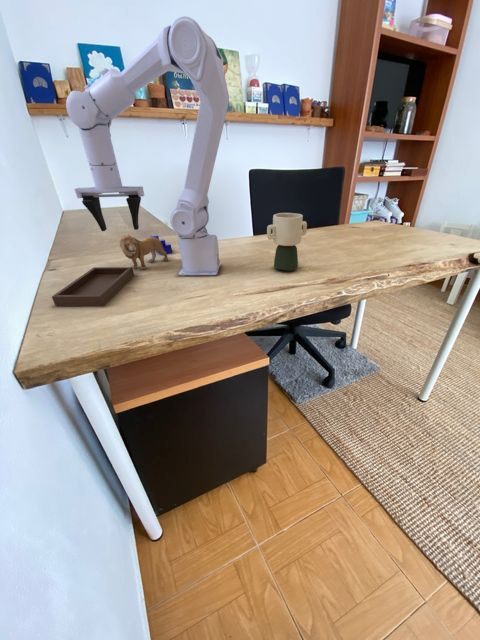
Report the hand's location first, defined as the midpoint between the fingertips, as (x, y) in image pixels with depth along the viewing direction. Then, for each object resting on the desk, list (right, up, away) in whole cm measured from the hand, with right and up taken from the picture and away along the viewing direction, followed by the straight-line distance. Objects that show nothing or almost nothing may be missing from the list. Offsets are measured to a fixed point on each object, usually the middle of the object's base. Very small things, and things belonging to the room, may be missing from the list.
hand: (120, 229), depth 73 cm
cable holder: (+4, +1, +18) cm, 19 cm away
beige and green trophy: (+41, -9, +4) cm, 43 cm away
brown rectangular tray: (-2, -16, -7) cm, 18 cm away
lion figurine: (+4, -7, +7) cm, 11 cm away
